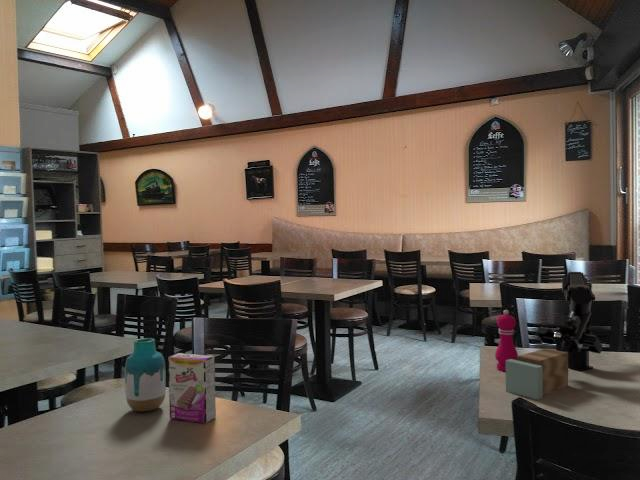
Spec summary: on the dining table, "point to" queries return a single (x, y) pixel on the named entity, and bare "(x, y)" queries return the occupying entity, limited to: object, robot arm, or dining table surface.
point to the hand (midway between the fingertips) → (557, 362)
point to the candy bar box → (192, 387)
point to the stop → (524, 379)
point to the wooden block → (549, 367)
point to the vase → (145, 376)
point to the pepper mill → (505, 340)
